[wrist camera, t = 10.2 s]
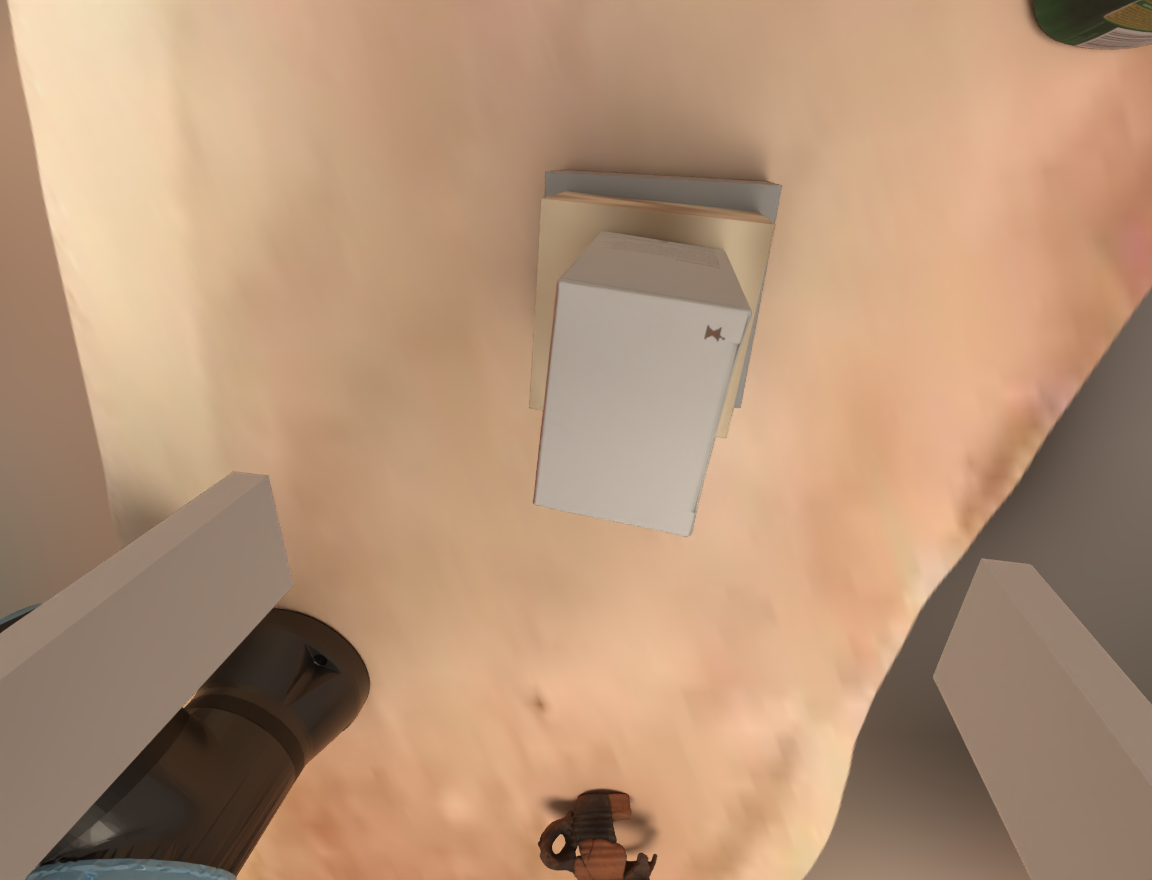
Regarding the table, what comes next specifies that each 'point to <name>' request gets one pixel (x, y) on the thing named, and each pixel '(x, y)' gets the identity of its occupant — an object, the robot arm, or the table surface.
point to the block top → (584, 216)
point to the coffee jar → (1096, 22)
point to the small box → (638, 380)
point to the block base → (677, 191)
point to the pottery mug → (594, 841)
